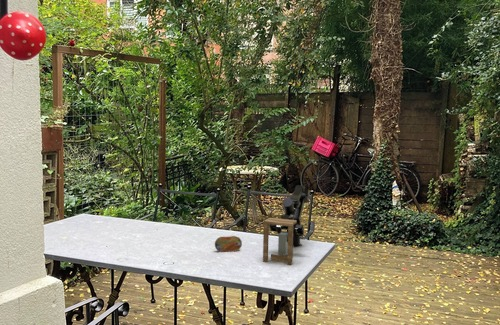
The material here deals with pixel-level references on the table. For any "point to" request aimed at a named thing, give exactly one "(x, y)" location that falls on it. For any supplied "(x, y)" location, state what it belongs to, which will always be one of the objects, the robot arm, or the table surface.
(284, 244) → the slab
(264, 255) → the wooden frame
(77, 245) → the table surface
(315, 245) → the table surface
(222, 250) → the tin
